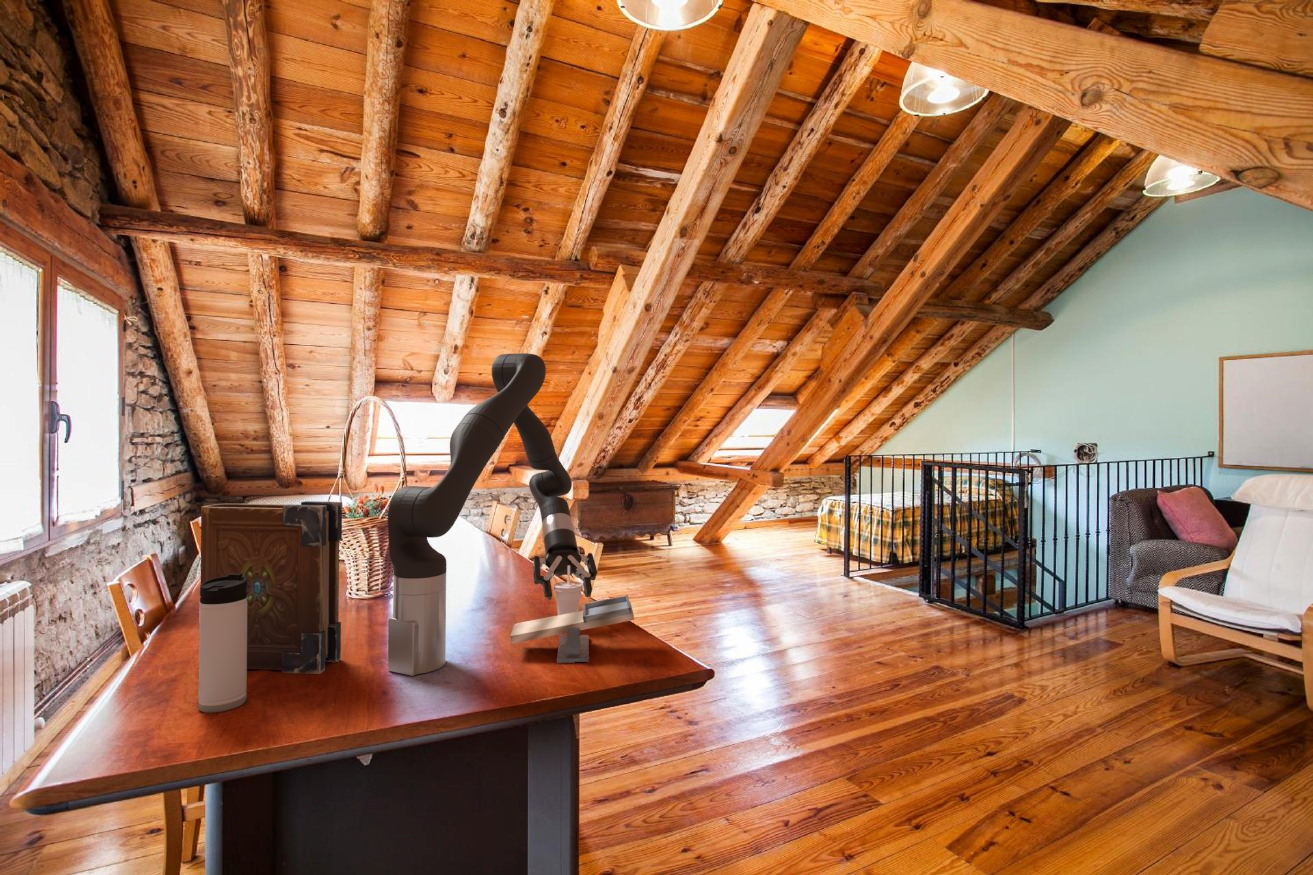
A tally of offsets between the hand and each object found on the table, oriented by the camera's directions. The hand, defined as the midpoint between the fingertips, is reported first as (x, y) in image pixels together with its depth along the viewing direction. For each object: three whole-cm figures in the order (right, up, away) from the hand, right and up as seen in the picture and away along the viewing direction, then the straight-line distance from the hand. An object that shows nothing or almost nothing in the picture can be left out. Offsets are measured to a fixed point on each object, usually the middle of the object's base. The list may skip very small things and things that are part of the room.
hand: (569, 596), depth 141 cm
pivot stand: (+3, -7, -13) cm, 16 cm away
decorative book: (-52, -7, -23) cm, 58 cm away
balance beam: (+3, -2, -14) cm, 14 cm away
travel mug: (-49, -7, -40) cm, 64 cm away
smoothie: (-1, -7, +1) cm, 8 cm away
